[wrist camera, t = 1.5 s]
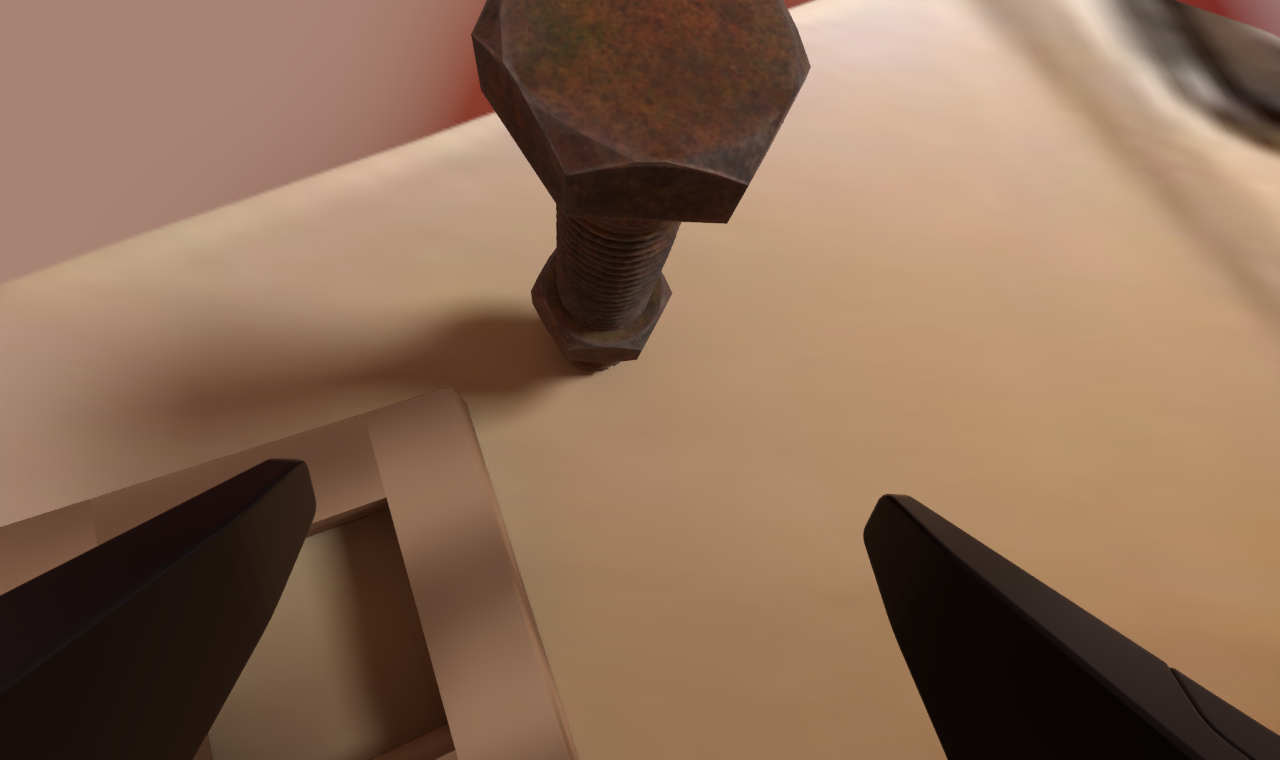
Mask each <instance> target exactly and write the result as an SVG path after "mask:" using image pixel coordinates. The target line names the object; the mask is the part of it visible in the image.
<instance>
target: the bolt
mask: <svg viewBox="0 0 1280 760" xmlns="http://www.w3.org/2000/svg"><path fill="white" fill-rule="evenodd" d="M471 36H472V41H473V47H474V53H475V58H476V64H477V69H478V75H479V81H480V86H481V91H482V92H483V93H484V95H485V97H486V98H487V100H488V101H489V103H490V104H491V106H492V107H493V109H494V110H495V112H496V113H497V115H498V116H499V118H500V119H501V121H502V122H503V124H504V125H505V127H506V128H507V130H508V131H509V133H510V134H511V136H512V137H513V139H514V140H515V142H516V144H517V145H518V147H519V148H520V150H521V151H522V153H523V154H524V156H525V157H526V159H527V160H528V162H529V163H530V165H531V166H532V168H533V169H534V171H535V172H536V174H537V175H538V177H539V178H540V180H541V181H542V183H543V184H544V186H545V187H546V189H547V190H548V192H549V193H550V195H551V196H552V198H553V199H554V201H555V202H556V210H557V215H556V218H557V222H556V228H557V236H556V239H557V248H556V249H555V250H554V252H553V253H552V255H551V256H550V257H549V259H548V261H547V262H546V264H545V266H544V267H543V269H542V271H541V272H540V274H539V276H538V278H537V280H536V282H535V284H534V286H533V288H532V290H531V295H532V302H533V305H534V307H535V309H536V311H537V313H538V314H539V316H540V318H541V320H542V322H543V323H544V325H545V327H546V328H547V330H548V332H549V333H550V335H551V337H552V338H553V340H554V341H555V343H556V344H557V346H558V347H559V349H560V350H561V351H562V352H563V354H564V355H565V356H566V358H567V359H568V360H570V361H571V362H572V363H574V364H575V365H576V366H578V367H580V368H581V369H584V370H588V371H603V370H606V369H608V367H610V366H612V365H613V366H615V365H616V364H618V363H619V362H621V361H629V360H637V358H638V356H639V355H640V353H641V351H642V349H643V347H644V346H645V344H646V342H647V340H648V338H649V336H650V334H651V333H652V331H653V329H654V327H655V325H656V323H657V321H658V320H659V318H660V316H661V314H662V312H663V310H664V308H665V306H666V304H667V302H668V300H669V298H670V297H671V295H672V292H671V290H670V288H669V285H668V283H667V281H666V279H665V277H664V275H663V273H662V272H661V271H662V268H663V266H664V264H665V262H666V259H667V257H668V255H669V252H670V250H671V247H672V245H673V242H674V240H675V238H676V234H677V231H678V229H679V226H680V224H681V222H702V223H728V221H729V219H730V217H731V216H732V214H733V212H734V210H735V209H736V207H737V205H738V203H739V201H740V200H741V198H742V196H743V194H744V193H745V191H746V189H747V187H748V186H749V184H750V182H751V180H752V178H753V177H754V175H755V173H756V171H757V169H758V168H759V166H760V164H761V162H762V160H763V159H764V157H765V155H766V153H767V151H768V150H769V148H770V146H771V144H772V142H773V140H774V138H775V136H776V135H777V133H778V131H779V129H780V127H781V125H782V123H783V121H784V119H785V117H786V116H787V114H788V112H789V110H790V108H791V106H792V104H793V102H794V100H795V98H796V96H797V95H798V93H799V91H800V89H801V87H802V85H803V83H804V81H805V79H806V77H807V75H808V72H809V70H810V68H811V67H810V64H809V61H808V58H807V55H806V52H805V49H804V46H803V44H802V41H801V38H800V35H799V32H798V29H797V27H796V25H795V23H794V21H793V19H792V17H791V15H790V13H789V11H788V9H787V7H786V5H785V3H784V1H783V0H487V1H486V3H485V6H484V8H483V10H482V12H481V15H480V16H479V19H478V21H477V23H476V25H475V27H474V30H473V32H472V34H471Z"/></svg>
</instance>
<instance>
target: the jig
mask: <svg viewBox="0 0 1280 760" xmlns="http://www.w3.org/2000/svg"><path fill="white" fill-rule="evenodd" d="M270 458H292V459H301V460H303V461H305V462H306V464H307V465H308V468H309V472H310V476H311V481H312V485H313V489H314V493H315V497H316V513H315V517H314V519H313V522H312V524H311V526H310V529H309V531H308V533H307V536H306V537H309V536H311V535H314V534H317V533H320V532H323V531H325V530H328V529H331V528H334V527H336V526H339V525H342V524H345V523H348V522H350V521H353V520H356V519H359V518H362V517H364V516H367V515H370V514H373V513H375V512H378V511H381V510H384V509H387V508H389V509H390V512H391V516H392V520H393V523H394V527H395V530H396V534H397V538H398V541H399V545H400V549H401V552H402V556H403V560H404V563H405V567H406V571H407V574H408V578H409V582H410V585H411V589H412V593H413V596H414V600H415V603H416V607H417V611H418V614H419V618H420V622H421V625H422V629H423V633H424V636H425V640H426V644H427V647H428V651H429V655H430V658H431V662H432V666H433V669H434V673H435V676H436V680H437V684H438V687H439V691H440V695H441V698H442V702H443V706H444V709H445V713H446V717H447V720H448V724H446V725H444V726H442V727H439V728H437V729H435V730H433V731H431V732H429V733H427V734H424V735H422V736H420V737H418V738H416V739H414V740H412V741H410V742H407V743H405V744H403V745H401V746H399V747H397V748H395V749H392V750H390V751H388V752H386V753H384V754H382V755H380V756H378V757H375V758H373V759H371V760H579V758H578V755H577V751H576V748H575V745H574V742H573V739H572V736H571V733H570V729H569V726H568V723H567V720H566V717H565V714H564V710H563V707H562V704H561V701H560V698H559V695H558V692H557V688H556V685H555V682H554V679H553V676H552V673H551V669H550V666H549V663H548V660H547V657H546V654H545V651H544V647H543V644H542V641H541V638H540V635H539V632H538V628H537V625H536V622H535V619H534V616H533V613H532V609H531V606H530V603H529V600H528V597H527V594H526V591H525V587H524V584H523V581H522V578H521V575H520V572H519V568H518V565H517V562H516V559H515V556H514V553H513V550H512V546H511V543H510V540H509V537H508V534H507V531H506V527H505V524H504V521H503V518H502V515H501V512H500V509H499V505H498V502H497V499H496V496H495V493H494V490H493V486H492V483H491V480H490V477H489V474H488V471H487V468H486V464H485V461H484V458H483V455H482V452H481V449H480V445H479V442H478V439H477V436H476V433H475V430H474V427H473V423H472V420H471V417H470V414H469V411H468V408H467V404H466V403H465V402H464V400H463V399H462V398H461V397H460V396H459V395H458V393H457V392H456V391H455V390H454V389H453V388H452V386H450V387H447V388H444V389H441V390H437V391H434V392H431V393H428V394H425V395H422V396H418V397H415V398H412V399H409V400H406V401H402V402H399V403H396V404H393V405H390V406H386V407H383V408H380V409H377V410H374V411H370V412H367V413H364V414H361V415H358V416H354V417H351V418H348V419H345V420H342V421H338V422H335V423H332V424H329V425H326V426H322V427H319V428H316V429H313V430H310V431H306V432H303V433H300V434H297V435H294V436H291V437H287V438H284V439H281V440H278V441H275V442H271V443H268V444H265V445H262V446H259V447H255V448H252V449H249V450H246V451H243V452H239V453H236V454H233V455H230V456H227V457H223V458H220V459H217V460H214V461H211V462H207V463H204V464H201V465H198V466H195V467H191V468H188V469H185V470H182V471H179V472H175V473H172V474H169V475H166V476H163V477H159V478H156V479H153V480H150V481H147V482H144V483H140V484H137V485H134V486H131V487H128V488H124V489H121V490H118V491H115V492H112V493H108V494H105V495H102V496H99V497H96V498H92V499H89V500H86V501H83V502H80V503H76V504H73V505H70V506H67V507H64V508H60V509H57V510H54V511H51V512H48V513H44V514H41V515H38V516H35V517H32V518H28V519H25V520H22V521H19V522H16V523H13V524H9V525H6V526H3V527H0V595H2V594H4V593H6V592H8V591H10V590H12V589H14V588H16V587H18V586H20V585H21V584H23V583H25V582H27V581H29V580H31V579H33V578H35V577H37V576H39V575H41V574H43V573H45V572H47V571H49V570H51V569H53V568H55V567H57V566H59V565H61V564H63V563H65V562H67V561H69V560H71V559H73V558H75V557H77V556H79V555H81V554H83V553H85V552H86V551H88V550H90V549H92V548H94V547H96V546H98V545H100V544H102V543H104V542H106V541H108V540H110V539H112V538H114V537H116V536H118V535H120V534H122V533H124V532H126V531H128V530H130V529H132V528H134V527H136V526H138V525H140V524H142V523H144V522H145V521H147V520H149V519H151V518H153V517H155V516H157V515H159V514H161V513H163V512H165V511H167V510H169V509H171V508H173V507H175V506H177V505H179V504H181V503H183V502H185V501H187V500H189V499H191V498H193V497H195V496H197V495H199V494H201V493H202V492H204V491H206V490H208V489H210V488H212V487H214V486H216V485H218V484H220V483H222V482H224V481H226V480H228V479H230V478H232V477H234V476H236V475H238V474H240V473H242V472H244V471H246V470H248V469H250V468H252V467H254V466H256V465H258V464H260V463H261V462H263V461H266V460H268V459H270ZM193 760H212V755H211V750H210V744H209V739H208V734H207V735H206V737H205V739H204V741H203V743H202V744H201V746H200V748H199V750H198V752H197V753H196V755H195V757H194V759H193Z"/></svg>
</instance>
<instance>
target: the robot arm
mask: <svg viewBox="0 0 1280 760" xmlns="http://www.w3.org/2000/svg"><path fill="white" fill-rule="evenodd" d="M315 513H316V497H315V493H314V489H313V485H312V481H311V476H310V472H309V468H308V465H307V464H306V462H305V461H303V460H301V459H292V458H270V459H268V460H266V461H263V462H261V463H260V464H258V465H256V466H254V467H252V468H250V469H248V470H246V471H244V472H242V473H240V474H238V475H236V476H234V477H232V478H230V479H228V480H226V481H224V482H222V483H220V484H218V485H216V486H214V487H212V488H210V489H208V490H206V491H204V492H202V493H201V494H199V495H197V496H195V497H193V498H191V499H189V500H187V501H185V502H183V503H181V504H179V505H177V506H175V507H173V508H171V509H169V510H167V511H165V512H163V513H161V514H159V515H157V516H155V517H153V518H151V519H149V520H147V521H145V522H144V523H142V524H140V525H138V526H136V527H134V528H132V529H130V530H128V531H126V532H124V533H122V534H120V535H118V536H116V537H114V538H112V539H110V540H108V541H106V542H104V543H102V544H100V545H98V546H96V547H94V548H92V549H90V550H88V551H86V552H85V553H83V554H81V555H79V556H77V557H75V558H73V559H71V560H69V561H67V562H65V563H63V564H61V565H59V566H57V567H55V568H53V569H51V570H49V571H47V572H45V573H43V574H41V575H39V576H37V577H35V578H33V579H31V580H29V581H27V582H25V583H23V584H21V585H20V586H18V587H16V588H14V589H12V590H10V591H8V592H6V593H4V594H2V595H0V760H193V759H194V757H195V755H196V753H197V752H198V750H199V748H200V746H201V744H202V743H203V741H204V739H205V737H206V735H207V734H208V732H209V730H210V728H211V726H212V725H213V723H214V721H215V719H216V717H217V716H218V714H219V712H220V710H221V708H222V707H223V705H224V703H225V701H226V699H227V698H228V696H229V694H230V692H231V690H232V689H233V687H234V685H235V683H236V681H237V680H238V678H239V676H240V674H241V672H242V671H243V669H244V667H245V665H246V663H247V662H248V660H249V658H250V656H251V654H252V653H253V651H254V649H255V647H256V645H257V644H258V642H259V640H260V638H261V636H262V634H263V633H264V631H265V629H266V627H267V625H268V623H269V621H270V619H271V617H272V615H273V613H274V611H275V608H276V606H277V604H278V602H279V600H280V597H281V595H282V592H283V590H284V588H285V585H286V583H287V581H288V578H289V576H290V574H291V571H292V569H293V567H294V564H295V562H296V559H297V557H298V555H299V552H300V550H301V548H302V545H303V543H304V541H305V538H306V536H307V533H308V531H309V529H310V526H311V524H312V522H313V519H314V517H315ZM863 537H864V544H865V547H866V550H867V553H868V556H869V559H870V562H871V566H872V569H873V572H874V575H875V578H876V581H877V584H878V587H879V591H880V594H881V597H882V600H883V603H884V606H885V609H886V612H887V615H888V618H889V621H890V624H891V627H892V630H893V632H894V635H895V637H896V640H897V642H898V645H899V647H900V649H901V652H902V654H903V656H904V659H905V661H906V663H907V666H908V668H909V670H910V673H911V675H912V677H913V680H914V682H915V685H916V687H917V689H918V692H919V694H920V696H921V699H922V701H923V703H924V706H925V708H926V710H927V713H928V715H929V717H930V720H931V722H932V724H933V727H934V729H935V731H936V734H937V736H938V738H939V741H940V743H941V745H942V748H943V750H944V752H945V755H946V757H947V759H948V760H1280V736H1279V735H1278V734H1276V733H1274V732H1273V731H1271V730H1269V729H1268V728H1266V727H1265V726H1263V725H1262V724H1260V723H1258V722H1257V721H1255V720H1254V719H1252V718H1251V717H1249V716H1247V715H1246V714H1244V713H1243V712H1241V711H1240V710H1238V709H1236V708H1235V707H1233V706H1232V705H1230V704H1229V703H1227V702H1225V701H1224V700H1222V699H1221V698H1219V697H1218V696H1216V695H1215V694H1213V693H1211V692H1210V691H1208V690H1207V689H1205V688H1204V687H1202V686H1201V685H1199V684H1198V683H1196V682H1195V681H1193V680H1191V679H1190V678H1188V677H1187V676H1185V675H1184V674H1182V673H1181V672H1179V671H1178V670H1176V669H1174V668H1169V667H1168V665H1167V664H1166V663H1165V662H1164V661H1162V660H1161V659H1159V658H1158V657H1156V656H1154V655H1153V654H1151V653H1150V652H1148V651H1147V650H1145V649H1144V648H1142V647H1141V646H1139V645H1138V644H1136V643H1135V642H1133V641H1131V640H1130V639H1128V638H1127V637H1125V636H1124V635H1122V634H1121V633H1119V632H1118V631H1116V630H1115V629H1113V628H1112V627H1110V626H1108V625H1107V624H1105V623H1104V622H1102V621H1101V620H1099V619H1098V618H1096V617H1095V616H1093V615H1092V614H1090V613H1089V612H1087V611H1085V610H1084V609H1082V608H1081V607H1079V606H1078V605H1076V604H1075V603H1073V602H1072V601H1070V600H1069V599H1067V598H1066V597H1064V596H1062V595H1061V594H1059V593H1058V592H1056V591H1055V590H1053V589H1052V588H1050V587H1049V586H1047V585H1046V584H1044V583H1043V582H1041V581H1039V580H1038V579H1036V578H1035V577H1033V576H1032V575H1030V574H1029V573H1027V572H1026V571H1024V570H1023V569H1021V568H1020V567H1018V566H1016V565H1015V564H1013V563H1012V562H1010V561H1009V560H1007V559H1006V558H1004V557H1003V556H1001V555H1000V554H998V553H997V552H995V551H993V550H992V549H990V548H989V547H987V546H986V545H984V544H983V543H981V542H980V541H978V540H977V539H975V538H974V537H972V536H970V535H969V534H967V533H966V532H964V531H963V530H961V529H960V528H958V527H957V526H955V525H954V524H952V523H951V522H949V521H947V520H946V519H944V518H943V517H941V516H940V515H938V514H937V513H935V512H934V511H932V510H931V509H929V508H928V507H926V506H924V505H923V504H921V503H920V502H918V501H917V500H915V499H914V498H912V497H910V496H907V495H898V494H885V495H883V496H882V497H881V498H880V499H879V500H878V502H877V504H876V506H875V508H874V510H873V512H872V514H871V516H870V518H869V520H868V522H867V524H866V526H865V528H864V535H863Z"/></svg>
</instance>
